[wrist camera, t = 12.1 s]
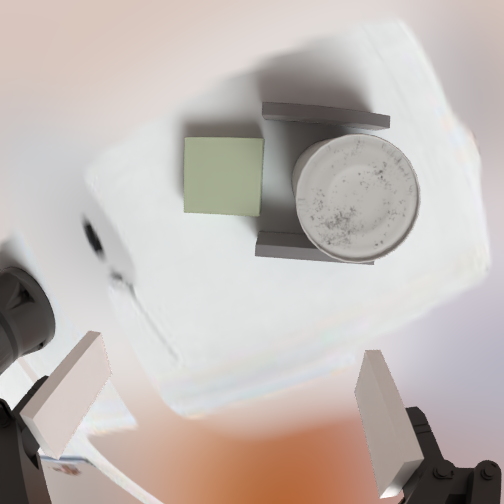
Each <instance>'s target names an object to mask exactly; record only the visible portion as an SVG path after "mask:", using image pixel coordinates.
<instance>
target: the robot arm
mask: <svg viewBox="0 0 504 504" xmlns="http://www.w3.org/2000/svg"><path fill="white" fill-rule="evenodd" d="M54 334H55V320H54V315H53V312H52V309H51V306H50V304H49V301H48V299H47V297H46V296H45V294H44V292H43V291H42V289H41V288H40V286H39V285H38V284H37V282H36V281H35V280H34V279H33V278H32V277H31V276H30V275H29V274H27V273H26V272H24V271H23V270H21V269H19V268H15V267H9V268H6V269H5V270H3V271H1V272H0V375H1V374H2V373H3V372H4V371H5V370H6V369H7V368H8V367H9V366H10V365H11V364H12V363H13V362H14V361H15V360H16V359H17V358H19V357H21V356H24V355H27V354H30V353H32V352H35V351H38V350H40V349H42V348H44V347H45V346H46V345H47V344H48V343H49V342H50V341H51V340H52V339H53V337H54ZM111 374H112V372H111V368H110V365H109V361H108V357H107V354H106V350H105V346H104V342H103V338H102V334H101V333H99V332H94V331H88V333H87V334H86V335H85V336H84V337H83V338H82V339H81V340H80V342H79V343H78V344H77V345H76V346H75V347H74V348H73V349H72V351H71V352H70V353H69V354H68V355H67V356H66V357H65V359H64V360H63V361H62V362H61V363H60V364H59V366H58V367H57V368H56V369H55V370H54V372H53V373H52V374H51V375H50V376H46V375H45V376H44V377H42V378H41V379H39V380H37V382H36V383H35V384H34V385H33V386H32V387H31V389H30V390H29V391H28V392H27V394H25V396H24V397H23V398H22V399H21V400H20V402H19V403H18V404H17V405H16V407H15V408H14V409H13V410H12V411H11V409H10V407H9V405H8V404H7V402H6V401H5V400H4V399H1V398H0V504H52V503H51V500H50V496H49V493H48V489H47V485H46V481H45V478H44V473H43V469H42V465H41V460H40V456H39V453H38V452H37V451H38V449H39V448H40V447H41V449H42V450H43V452H44V453H45V454H46V455H48V456H50V457H52V458H55V459H57V460H59V458H60V456H61V455H62V453H63V451H64V449H65V448H66V446H67V444H68V443H69V441H70V439H71V438H72V436H73V434H74V433H75V431H76V430H77V428H78V426H79V425H80V423H81V421H82V420H83V418H84V417H85V415H86V413H87V412H88V410H89V409H90V407H91V405H92V404H93V402H94V401H95V399H96V397H97V396H98V394H99V393H100V391H101V390H102V388H103V386H104V385H105V383H106V382H107V380H108V379H109V377H110V376H111ZM355 396H356V400H357V404H358V408H359V411H360V415H361V419H362V423H363V427H364V432H365V436H366V440H367V444H368V448H369V452H370V457H371V461H372V466H373V470H374V475H375V479H376V484H377V488H378V494H379V498H385V497H391V496H396V495H398V494H399V493H400V491H401V490H402V489H403V492H404V497H403V499H402V500H401V501H400V502H399V503H398V504H500V497H501V469H500V468H499V466H498V464H496V463H495V462H493V461H489V460H485V461H482V462H480V463H479V464H478V465H477V466H476V467H475V468H458V467H455V466H454V465H453V463H451V462H450V461H448V460H444V458H443V456H442V454H441V452H440V449H439V447H438V444H437V442H436V439H435V437H434V435H433V432H431V431H432V430H431V428H430V425H428V421H427V419H426V417H425V414H424V413H423V412H422V411H421V410H420V409H419V408H418V407H409V408H405V407H404V404H403V402H402V399H401V397H400V395H399V392H398V390H397V387H396V385H395V383H394V380H393V378H392V376H391V374H390V371H389V369H388V367H387V364H386V362H385V360H384V357H383V355H382V353H381V351H380V350H365V354H364V358H363V362H362V366H361V370H360V374H359V377H358V381H357V385H356V388H355Z"/></svg>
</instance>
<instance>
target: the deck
mask: <svg viewBox="0 0 504 504" xmlns="http://www.w3.org/2000/svg"><path fill="white" fill-rule="evenodd" d="M263 157H264V139H260V138H232V137H185V149H184V212H185V213H205V214H223V215H239V216H255V217H259V215H260V213H261V197H262V177H263Z"/></svg>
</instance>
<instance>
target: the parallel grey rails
mask: <svg viewBox="0 0 504 504" xmlns="http://www.w3.org/2000/svg"><path fill="white" fill-rule="evenodd" d="M262 115H263V117H264V118H265V119H266V120H284V121H298V122H310V123H321V124H330V125H339V126H347V127H355V128H362V129H369V130H381V129H387V128H390V116H387V115H382V114H376V113H370V112H363V111H356V110H349V109H341V108H333V107H324V106H314V105H302V104H289V103H272V102H263V105H262ZM255 256H260V257H274V258H287V259H300V260H314V261H327V262H341V263H352V262H344V261H341V260H338V259H335V258H332V257H330V256H328V255H327V254H325V253H324V252H322V251H320V250H319V249H318V248H317V247H316V246H315V245H314V244H313V243H312V242H311V241H310V240H309V238H308V237H307V235H304V234H291V233H277V232H264V231H260V232H259V235H258V238H257V242H256V248H255ZM354 264H368V265H374V261H371V262H363V263H354Z"/></svg>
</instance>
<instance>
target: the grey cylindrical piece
mask: <svg viewBox="0 0 504 504" xmlns="http://www.w3.org/2000/svg"><path fill="white" fill-rule="evenodd" d="M292 189H293V193H294V196H295V202H296V210H297V216H298V218H299V221H300V224H301V227H302V229H303V230H304V232H305V234H306V235H307V237H308V238H309V240H310V241H311V242H312V243H313V244H314V245H315V246H316V247H317V248H318V249H319V250H320V251H322V252H324V253H325V254H327V255H328V256H330V257H332V258H335V259H338V260H341V261H344V262H352V263H363V262H371V261H374V260H377V259H380V258H383V257H385V256H387V255H388V254H390V253H391V252H393V251H395V250H396V249H397V248H398V247H399V246H400V245H401V244H402V243H403V242H404V241H405V240H406V239H407V237H408V236H409V234H410V233H411V231H412V230H413V228H414V225H415V223H416V220H417V218H418V214H419V208H420V187H419V183H418V179H417V175H416V173H415V171H414V169H413V167H412V165H411V163H410V161H409V160H408V159H407V157H406V156H405V155H404V154H403V153H402V152H401V150H399V149H398V148H397V147H395V146H394V145H393V144H391V143H390V142H388V141H386V140H384V139H382V138H379V137H377V136H373V135H368V134H362V133H360V134H347V135H343V136H340V137H337V138H332V139H324V140H321V141H318V142H316V143H314V144H312V145H311V146H309V147H308V148H307V149H306V150H305V151H304V152H303V153H302V154H301V155H300V156H299V158H298V160H297V161H296V163H295V166H294V169H293V172H292Z"/></svg>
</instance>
